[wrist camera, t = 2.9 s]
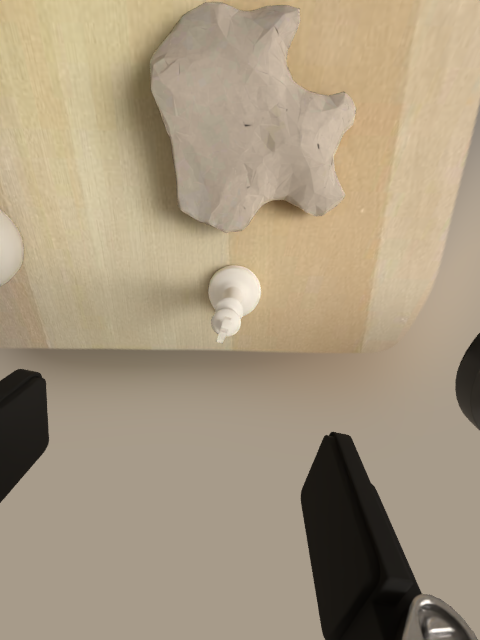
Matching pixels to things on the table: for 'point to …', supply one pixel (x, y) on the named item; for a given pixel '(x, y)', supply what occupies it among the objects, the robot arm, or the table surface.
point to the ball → (9, 249)
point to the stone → (245, 116)
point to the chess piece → (232, 298)
